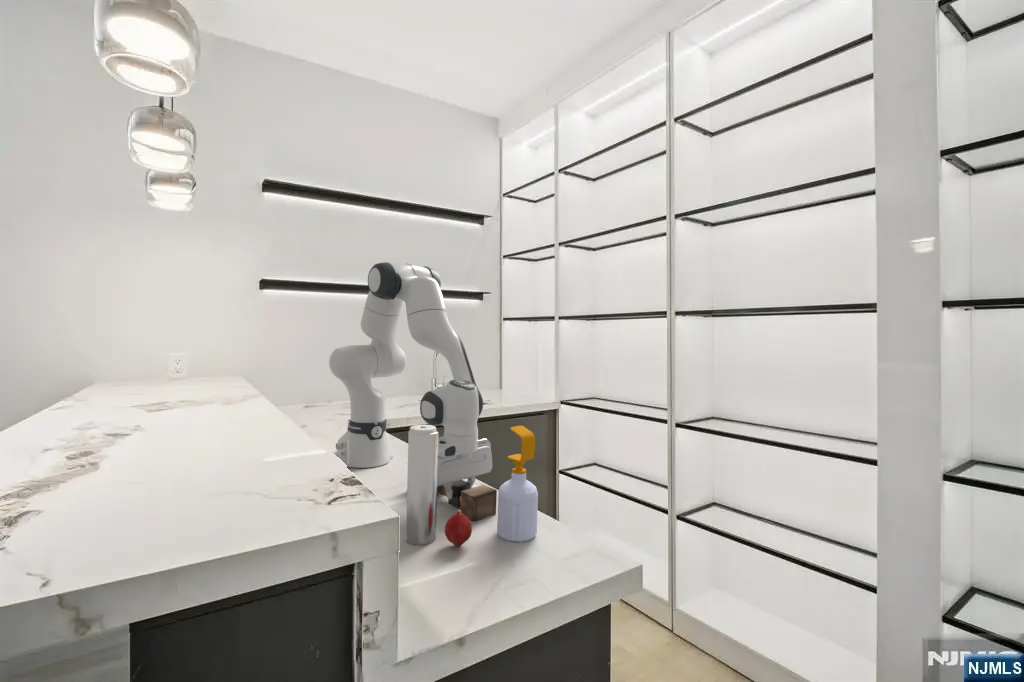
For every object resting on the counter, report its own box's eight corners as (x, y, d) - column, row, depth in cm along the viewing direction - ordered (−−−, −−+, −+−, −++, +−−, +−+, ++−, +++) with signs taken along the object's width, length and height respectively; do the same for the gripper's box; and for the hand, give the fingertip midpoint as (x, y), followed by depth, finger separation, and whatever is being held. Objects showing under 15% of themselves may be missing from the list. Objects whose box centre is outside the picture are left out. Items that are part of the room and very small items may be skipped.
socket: (460, 515, 119) (461, 491, 118) (482, 508, 124) (483, 484, 123) (473, 522, 115) (474, 497, 115) (495, 514, 120) (496, 490, 120)
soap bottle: (516, 521, 116) (520, 421, 115) (544, 534, 110) (548, 428, 109) (488, 532, 110) (492, 426, 109) (517, 546, 103) (521, 434, 102)
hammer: (429, 494, 131) (429, 474, 131) (441, 490, 134) (441, 471, 133) (469, 513, 119) (469, 491, 119) (481, 509, 122) (481, 488, 121)
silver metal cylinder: (429, 547, 102) (432, 431, 101) (400, 543, 103) (403, 428, 102) (439, 534, 108) (442, 424, 107) (413, 530, 109) (415, 422, 108)
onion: (441, 542, 104) (442, 506, 104) (466, 538, 107) (467, 503, 106) (448, 554, 99) (449, 516, 99) (474, 550, 101) (476, 513, 101)
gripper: (482, 434, 134) (481, 483, 134) (421, 446, 119) (419, 501, 120) (498, 439, 129) (496, 489, 130) (436, 452, 115) (434, 509, 115)
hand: (459, 495), depth 125 cm, fingers closed on hammer, 4 cm apart
